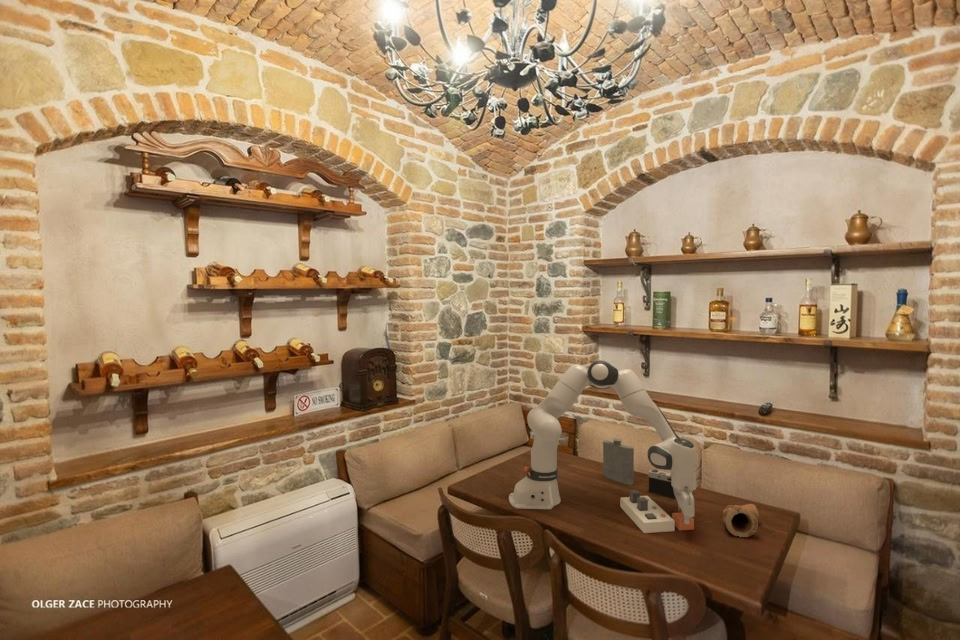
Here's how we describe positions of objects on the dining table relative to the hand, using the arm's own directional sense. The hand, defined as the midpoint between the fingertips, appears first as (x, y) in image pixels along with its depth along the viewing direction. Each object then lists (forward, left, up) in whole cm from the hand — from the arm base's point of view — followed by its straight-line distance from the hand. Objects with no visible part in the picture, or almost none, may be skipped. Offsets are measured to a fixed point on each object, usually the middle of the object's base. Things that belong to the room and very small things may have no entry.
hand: (683, 517), depth 181 cm
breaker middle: (-13, +8, 0) cm, 15 cm away
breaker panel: (-12, +8, -3) cm, 14 cm away
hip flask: (-8, +46, -4) cm, 46 cm away
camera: (+8, +29, -4) cm, 30 cm away
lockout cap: (-1, 0, -3) cm, 3 cm away
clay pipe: (+20, -5, -4) cm, 21 cm away
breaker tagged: (-13, +1, -3) cm, 13 cm away
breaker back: (-13, +15, 0) cm, 20 cm away
